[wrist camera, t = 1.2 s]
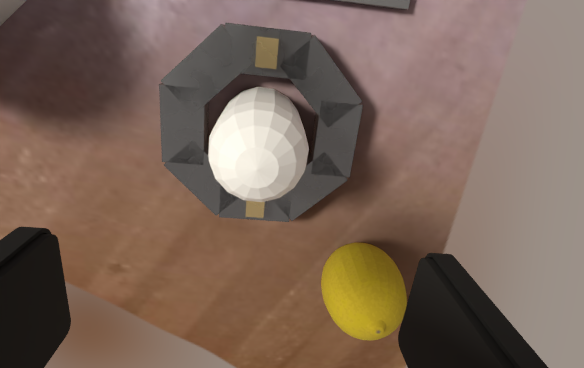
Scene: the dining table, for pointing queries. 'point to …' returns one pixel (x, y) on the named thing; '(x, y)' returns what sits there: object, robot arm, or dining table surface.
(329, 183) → the socket ring
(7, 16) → the toilet tissue
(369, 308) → the lemon
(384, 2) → the mat
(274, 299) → the dining table surface
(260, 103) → the capsule
